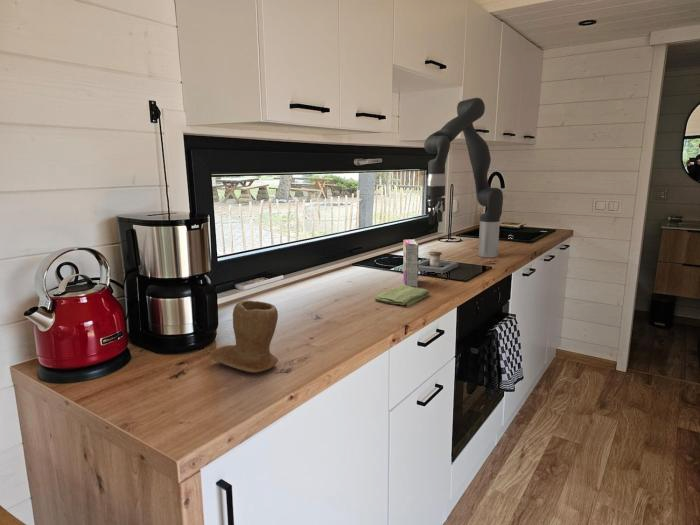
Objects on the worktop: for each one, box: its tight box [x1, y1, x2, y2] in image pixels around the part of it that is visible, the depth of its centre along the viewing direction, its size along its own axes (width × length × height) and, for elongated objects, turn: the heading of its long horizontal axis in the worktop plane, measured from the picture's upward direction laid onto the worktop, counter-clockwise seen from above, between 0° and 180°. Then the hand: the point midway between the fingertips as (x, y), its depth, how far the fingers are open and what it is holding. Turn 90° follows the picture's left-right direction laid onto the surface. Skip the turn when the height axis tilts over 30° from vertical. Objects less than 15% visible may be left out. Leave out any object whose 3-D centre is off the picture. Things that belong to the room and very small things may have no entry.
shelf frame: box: [418, 258, 459, 275], centre depth 209 cm, size 17×15×2 cm
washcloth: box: [374, 284, 431, 307], centre depth 164 cm, size 13×18×3 cm
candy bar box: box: [402, 238, 419, 288], centre depth 183 cm, size 11×5×16 cm, turn 179°
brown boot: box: [208, 300, 279, 374], centre depth 111 cm, size 15×12×15 cm
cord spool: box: [428, 251, 443, 268], centre depth 209 cm, size 6×6×7 cm
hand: (435, 223), depth 205 cm, fingers open, 8 cm apart
